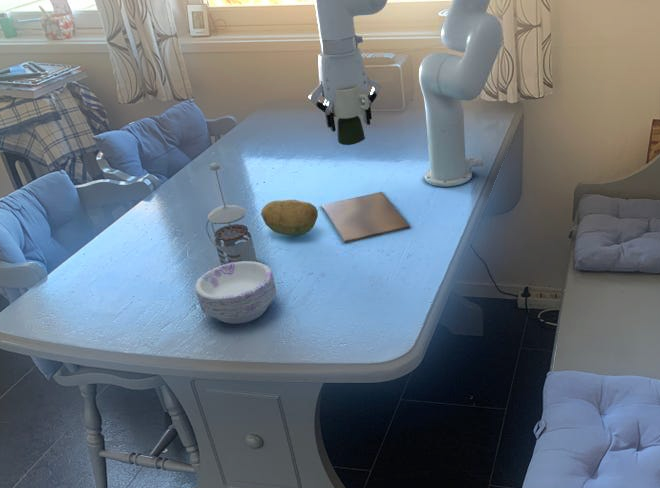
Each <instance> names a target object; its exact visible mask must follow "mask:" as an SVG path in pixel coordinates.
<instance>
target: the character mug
mask: <svg viewBox="0 0 660 488" xmlns="http://www.w3.org/2000/svg"><path fill="white" fill-rule="evenodd" d="M362 99H364V103H365V105H363V101H362ZM325 100H326V99H325V97H323V101H324V103H325ZM333 104H334V105H333V108H332V110H331V111H332V113H333V115H334V118H337V120H336V121H337V123H336V124H337V125H336V126H337V127H336V130H337V133H336V134H337V135H336V136H337V142H338V143H339V144H340V145H342V146H352V145H356V144H359V143H361V142H363V141H364V140H366V136H365V132H364V131H365V130H364V128H363V124H362V119H361V118H360V117H359V116H360V115H361V114H363V109H369V102H368V94H367V95H365V94H360V91H359V86H357V87H355V88H352V89H347V90H335V102H333Z"/></svg>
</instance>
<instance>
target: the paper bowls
mask: <svg viewBox="0 0 660 488" xmlns="http://www.w3.org/2000/svg"><path fill="white" fill-rule="evenodd" d="M194 289H195V293H196V297H197V300H198V303H199V306H200V309H201V311H202V313H203V314H205V315H206V316H208V317H211V318H215V319H217V320H219V321H220V322H222V323H226V324H230V325H236V324H237V325H239V324H245V323H249V322H251V321H254V320H256V319H258V318H259V317H261V316H262V315H263V314H264V313H265V312H266V311H267V309H268V307H269V306H270V305H271V304H272V303H273V302H274V301H275V299H276V297H277V287H276V284H275V279H274V274H273V271H272V269H271V268H270V267H269V266H268V265H266V264H264V263H262V262H260V261H257V262H253V261H241V262H233V263H228V264H227V263H226V264H225V265H221V264H220V265H219V266H216V267H214V268H212V269H209V270H208V271H206V272H205V273H203V274H202V275H201V276H200V277H199V278H198V279H197V280H196V283H195V286H194Z"/></svg>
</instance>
